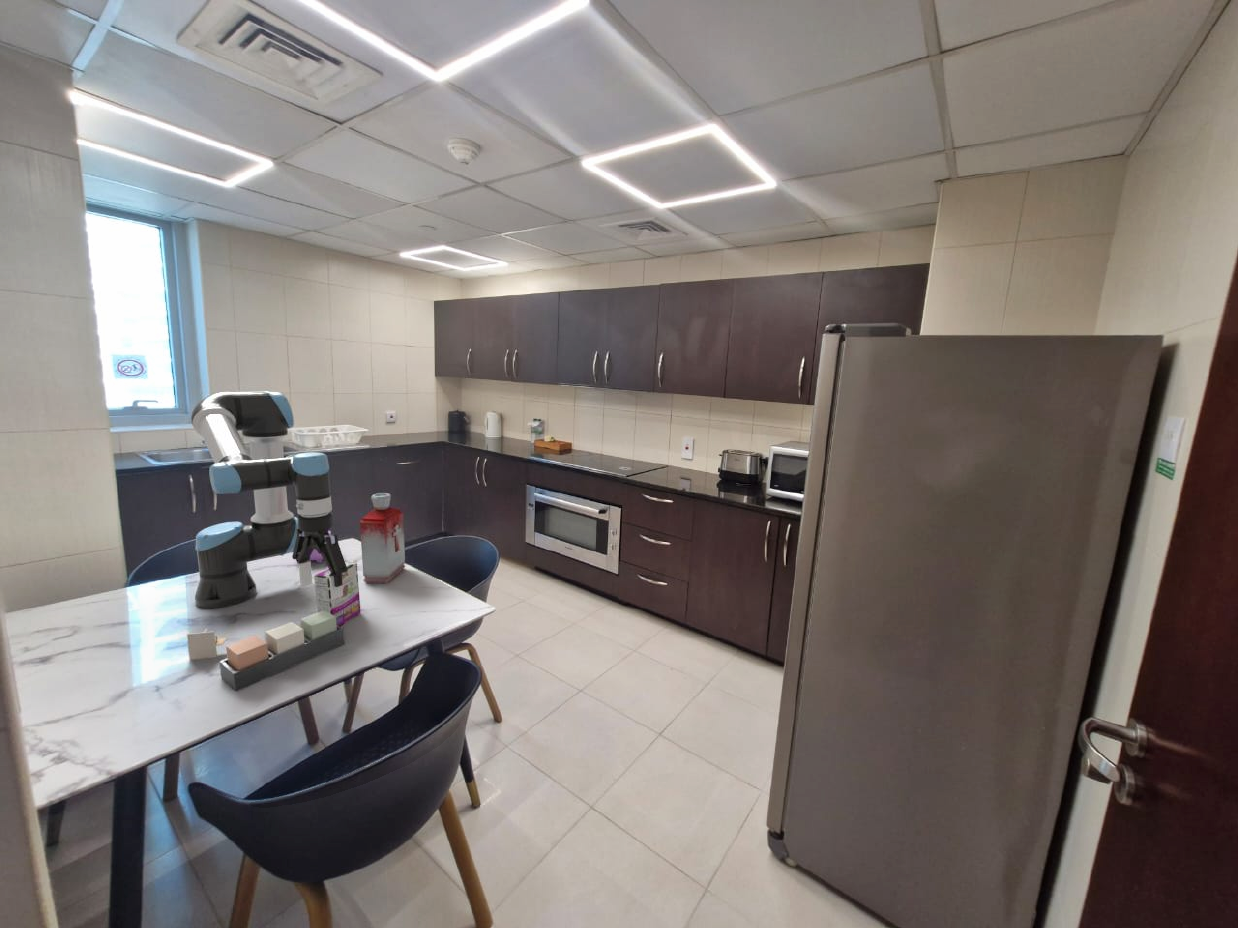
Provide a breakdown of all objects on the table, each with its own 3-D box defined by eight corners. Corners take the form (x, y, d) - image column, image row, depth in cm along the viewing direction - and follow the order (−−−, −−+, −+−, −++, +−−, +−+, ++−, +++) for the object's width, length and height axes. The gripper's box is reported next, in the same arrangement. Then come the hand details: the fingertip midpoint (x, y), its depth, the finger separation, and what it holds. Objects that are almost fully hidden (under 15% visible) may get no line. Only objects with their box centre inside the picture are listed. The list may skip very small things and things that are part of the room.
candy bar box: (346, 610, 149) (343, 560, 146) (361, 613, 148) (358, 562, 145) (317, 629, 138) (313, 574, 135) (332, 631, 137) (328, 577, 134)
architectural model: (196, 654, 125) (193, 627, 124) (228, 650, 127) (225, 624, 126) (189, 661, 122) (186, 634, 120) (222, 657, 124) (219, 631, 122)
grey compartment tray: (221, 678, 115) (219, 661, 114) (329, 634, 135) (328, 619, 135) (236, 691, 111) (233, 673, 110) (344, 643, 131) (343, 628, 130)
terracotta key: (228, 665, 115) (226, 646, 114) (257, 653, 120) (255, 635, 119) (239, 674, 112) (237, 654, 111) (269, 662, 117) (267, 643, 116)
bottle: (389, 584, 167) (385, 500, 162) (360, 583, 167) (354, 499, 162) (408, 568, 181) (405, 490, 176) (381, 567, 182) (376, 489, 176)
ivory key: (267, 650, 122) (265, 631, 121) (293, 639, 127) (291, 621, 126) (278, 658, 118) (276, 639, 118) (304, 647, 123) (303, 629, 123)
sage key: (301, 636, 128) (300, 618, 127) (325, 626, 133) (324, 610, 132) (313, 643, 125) (311, 625, 124) (337, 633, 130) (335, 616, 129)
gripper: (272, 509, 127) (279, 585, 131) (329, 525, 115) (336, 608, 119) (302, 503, 133) (308, 576, 137) (359, 517, 122) (364, 597, 125)
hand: (321, 591), depth 128 cm, fingers open, 13 cm apart
